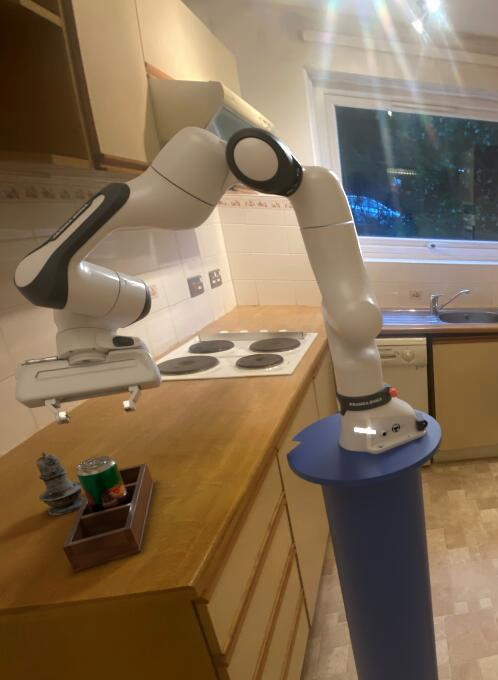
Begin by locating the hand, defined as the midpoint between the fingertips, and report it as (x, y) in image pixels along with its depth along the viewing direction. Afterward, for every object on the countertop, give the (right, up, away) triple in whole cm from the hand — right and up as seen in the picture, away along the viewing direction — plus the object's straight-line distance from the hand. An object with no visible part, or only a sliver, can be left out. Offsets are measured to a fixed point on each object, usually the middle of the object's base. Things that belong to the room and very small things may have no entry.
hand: (97, 416), depth 80 cm
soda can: (+5, -19, -2) cm, 20 cm away
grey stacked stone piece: (-8, -18, +3) cm, 20 cm away
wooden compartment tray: (+5, -19, -1) cm, 20 cm away
